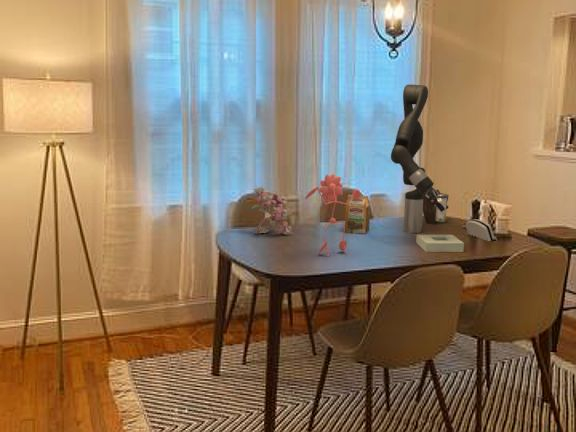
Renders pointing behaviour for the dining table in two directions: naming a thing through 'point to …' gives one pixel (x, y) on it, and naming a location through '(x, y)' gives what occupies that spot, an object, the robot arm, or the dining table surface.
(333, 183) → the pink blossom sprig
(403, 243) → the dining table surface
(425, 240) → the hole plate
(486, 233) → the grey napkin holder
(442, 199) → the steel peg
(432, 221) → the plant pot
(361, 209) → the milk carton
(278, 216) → the flower
